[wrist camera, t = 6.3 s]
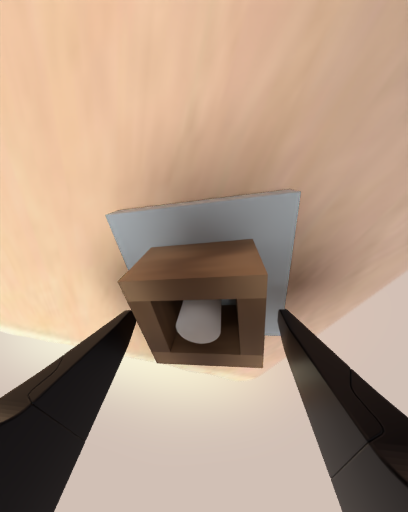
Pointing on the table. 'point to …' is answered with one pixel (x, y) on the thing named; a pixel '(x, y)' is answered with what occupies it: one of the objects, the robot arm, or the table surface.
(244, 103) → the table surface
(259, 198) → the peg base
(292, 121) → the table surface
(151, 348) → the collar
